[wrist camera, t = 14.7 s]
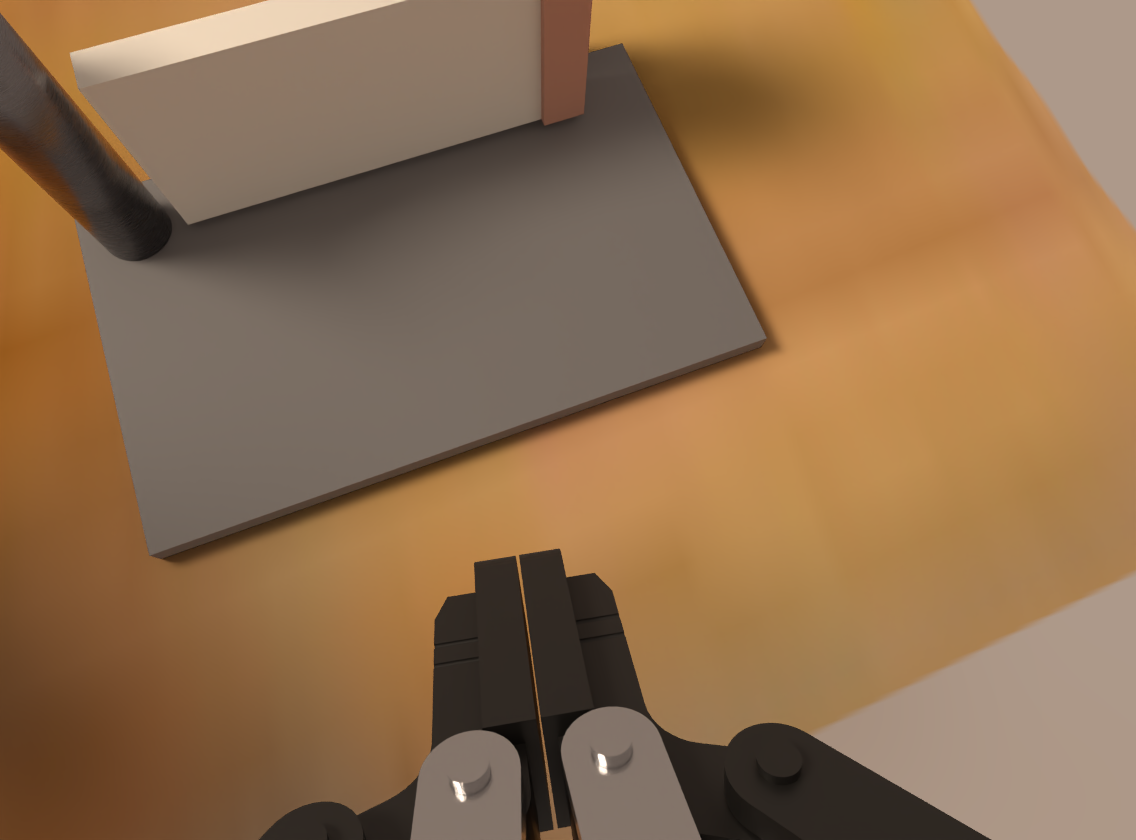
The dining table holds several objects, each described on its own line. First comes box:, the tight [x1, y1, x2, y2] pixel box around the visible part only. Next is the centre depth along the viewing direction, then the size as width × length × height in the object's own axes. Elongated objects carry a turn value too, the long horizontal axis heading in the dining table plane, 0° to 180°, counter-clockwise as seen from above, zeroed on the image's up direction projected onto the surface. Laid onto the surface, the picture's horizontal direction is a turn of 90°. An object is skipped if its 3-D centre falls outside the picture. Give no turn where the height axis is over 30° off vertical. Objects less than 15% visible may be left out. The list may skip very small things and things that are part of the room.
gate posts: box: [0, 13, 172, 261], centre depth 30 cm, size 23×3×15 cm, turn 119°
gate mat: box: [75, 44, 767, 559], centre depth 35 cm, size 27×17×1 cm, turn 111°
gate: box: [70, 0, 592, 225], centre depth 30 cm, size 19×2×12 cm, turn 111°
